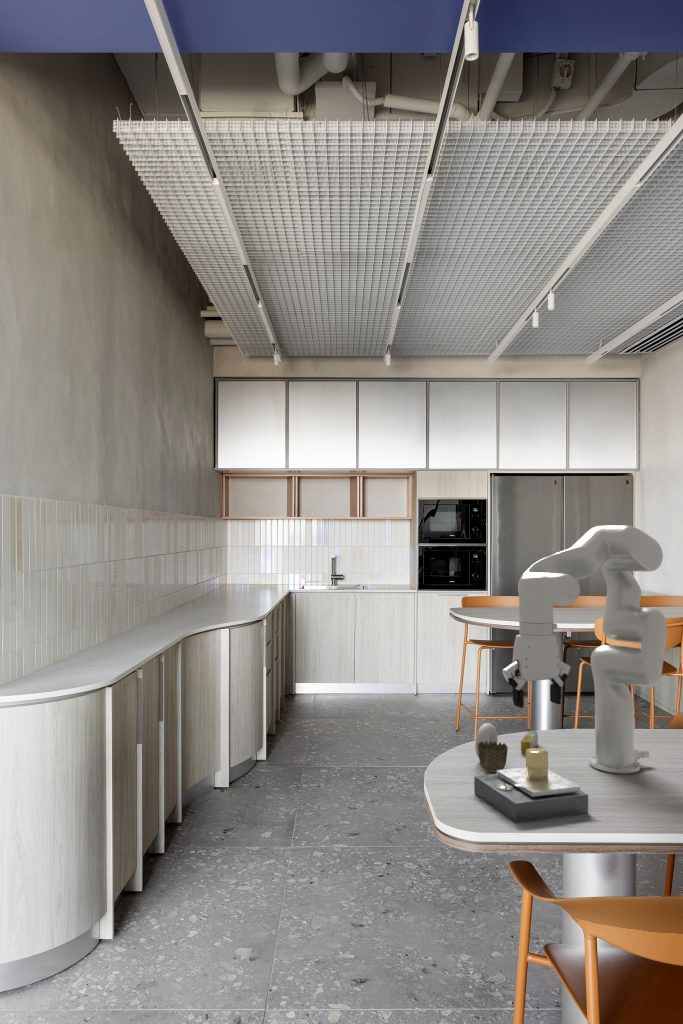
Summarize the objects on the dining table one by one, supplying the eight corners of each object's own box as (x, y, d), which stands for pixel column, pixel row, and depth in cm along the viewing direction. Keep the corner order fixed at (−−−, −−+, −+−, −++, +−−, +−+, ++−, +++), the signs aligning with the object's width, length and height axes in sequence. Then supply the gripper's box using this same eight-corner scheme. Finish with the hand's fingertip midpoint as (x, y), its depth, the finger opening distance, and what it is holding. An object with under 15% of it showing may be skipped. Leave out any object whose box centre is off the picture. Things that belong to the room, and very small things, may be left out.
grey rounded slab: (485, 766, 185) (485, 728, 185) (472, 764, 187) (472, 726, 187) (499, 757, 193) (499, 720, 193) (487, 755, 195) (487, 718, 195)
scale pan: (540, 769, 169) (540, 765, 169) (579, 791, 155) (579, 786, 155) (496, 774, 166) (496, 770, 166) (532, 796, 151) (532, 792, 151)
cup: (508, 783, 173) (508, 750, 173) (477, 780, 174) (477, 748, 174) (507, 773, 180) (507, 741, 180) (477, 771, 181) (477, 739, 182)
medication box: (528, 743, 207) (528, 730, 207) (538, 744, 206) (537, 730, 206) (521, 755, 196) (520, 740, 196) (531, 756, 195) (530, 741, 195)
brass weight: (540, 773, 163) (540, 747, 164) (552, 780, 159) (552, 753, 159) (522, 775, 162) (521, 749, 162) (533, 782, 157) (533, 755, 158)
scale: (540, 785, 171) (540, 766, 171) (588, 813, 154) (588, 792, 154) (474, 793, 165) (474, 774, 166) (515, 823, 148) (515, 801, 148)
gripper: (558, 625, 168) (559, 698, 167) (494, 629, 163) (495, 704, 162) (578, 629, 161) (579, 705, 160) (511, 633, 155) (512, 711, 155)
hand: (537, 704), depth 161 cm, fingers open, 9 cm apart
